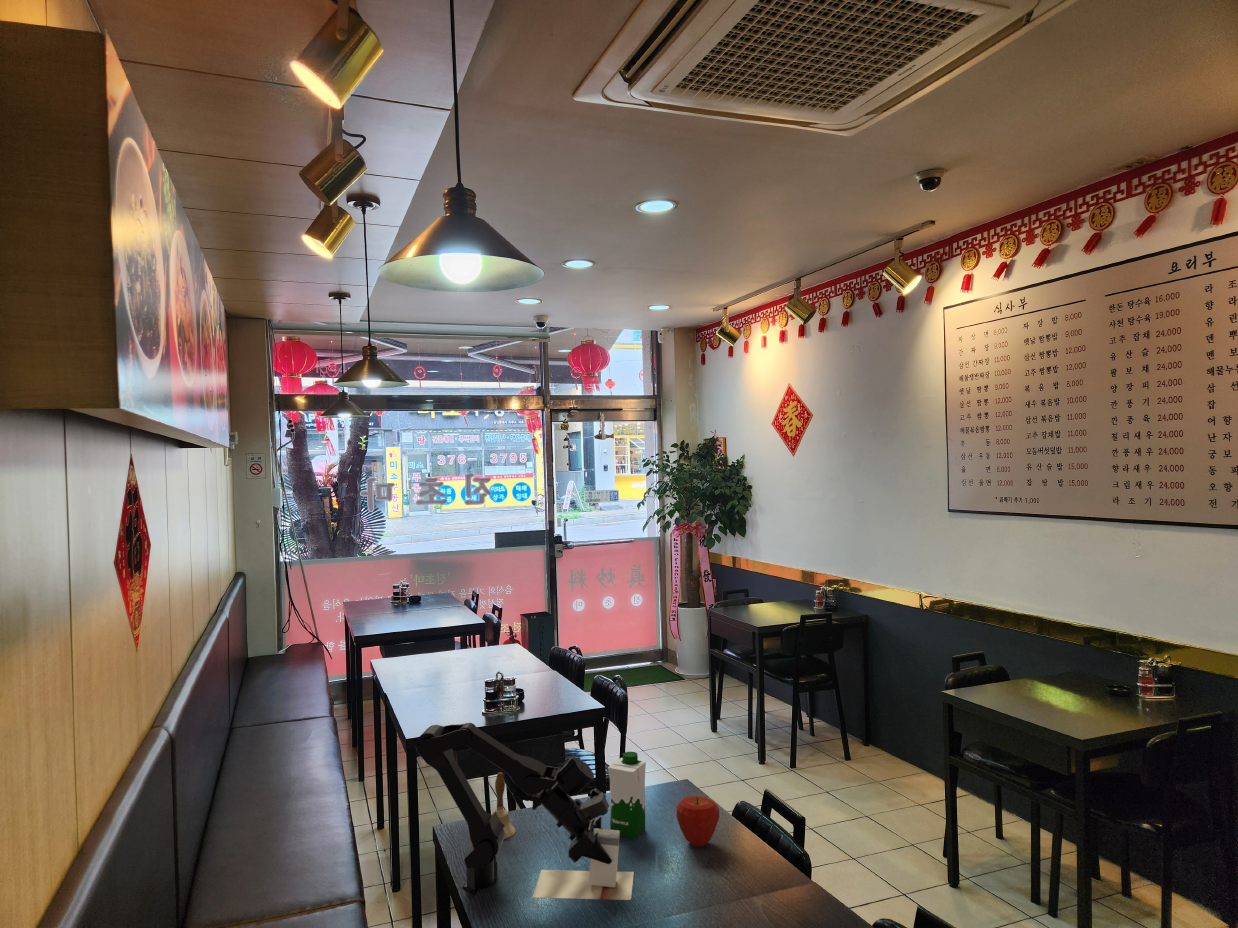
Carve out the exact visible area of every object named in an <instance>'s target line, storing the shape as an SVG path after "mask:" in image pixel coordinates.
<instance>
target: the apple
mask: <svg viewBox="0 0 1238 928" xmlns="http://www.w3.org/2000/svg"><path fill="white" fill-rule="evenodd" d="M676 819H677V823H678V826H679V828H680V831H681V832H682V834H683V835H682V836H683V837H684V839H685V840H686V841H687V842H688V843H689V844H690V845H691V846H693V847H694V848H701V847H704V846H705V845H706V844H708V843H709V842H711V840H712V837H713V835H714V834H715V831H716V828H717V825H718V822H719V820H720V807H719V805H718V804H717V803H715V801H713V800H712V799H710V798H709V797H705V796H701V795H691V796H686V797H684V798H683V799H681V800H680V801H679V802H678V803H677V805H676Z"/></svg>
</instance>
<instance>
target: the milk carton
mask: <svg viewBox="0 0 1238 928" xmlns="http://www.w3.org/2000/svg"><path fill="white" fill-rule="evenodd" d="M638 758H639V757H638V752H636V751H626V752H622V757H620V758H618V759H617V760H616V761H614V762H612V763H611V765H609V766H607V771H608V776H609V797H610V798H609V802H610V804H609V807H610V817H609V823H610V824H609V825H610V826H609V829H610V830H619V831H620V838H619V839H624V840H627V841H632V842H633V841H635V840H636V839H637V838H638V837H639V836H641V834H642V833H643V832H644V831H646V767H647V766H646V761H642V760H639V759H638Z"/></svg>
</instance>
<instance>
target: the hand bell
mask: <svg viewBox="0 0 1238 928" xmlns="http://www.w3.org/2000/svg"><path fill="white" fill-rule="evenodd" d="M494 781H495V782H494V789H495V794H496V809H495V810H492V811H491V813H490V815H492V814H493V813H494V812H496V813H497V814H498V817H499V819H500V821H501V822H502V823H503V824H504V825H505V826H504V828H503V829H504V832H505V835H504V840H506V839H509V838H511V837H513V836H514V835H515V834H516V828H515V826H513V825H512V823H511V821H510V816H509V811H508V810H507V809H504V792H505V788H506V781H505V778H504V774H503V772H501V771H498V772H497V775H496V778H495V780H494Z"/></svg>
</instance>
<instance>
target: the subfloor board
mask: <svg viewBox="0 0 1238 928" xmlns="http://www.w3.org/2000/svg"><path fill="white" fill-rule="evenodd" d="M634 872H635V871H617V878H616V885H615V887H606V886H597V885H589V875H590V870H565V869H564V870H562V869H561V870H559V869H556V870H555V869H541V870H540V874H539V876H538V880H537V883H536V885H535V888H534V891H533V895H532V899H533V898H537V899H568V900H569V899H572V900H573V899H574V900H610V901H611V900H614V901H619V900H621V901H631V900H632V892H633V883H634V876H635V875H634Z"/></svg>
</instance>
